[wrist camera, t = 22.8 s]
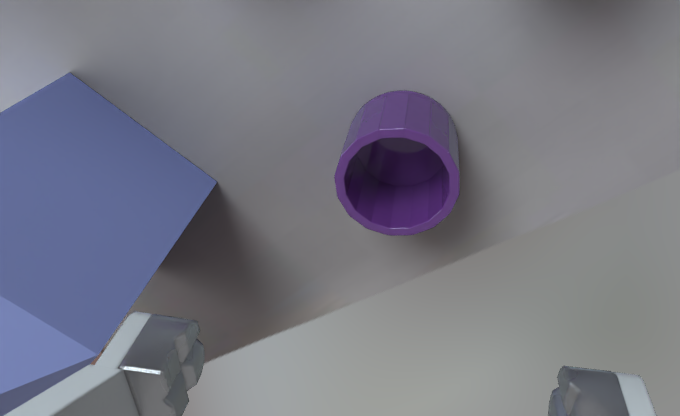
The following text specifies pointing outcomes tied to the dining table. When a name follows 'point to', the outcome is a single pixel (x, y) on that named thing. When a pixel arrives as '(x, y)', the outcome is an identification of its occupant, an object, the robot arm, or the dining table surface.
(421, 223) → the purple cup
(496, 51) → the dining table surface
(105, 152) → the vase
